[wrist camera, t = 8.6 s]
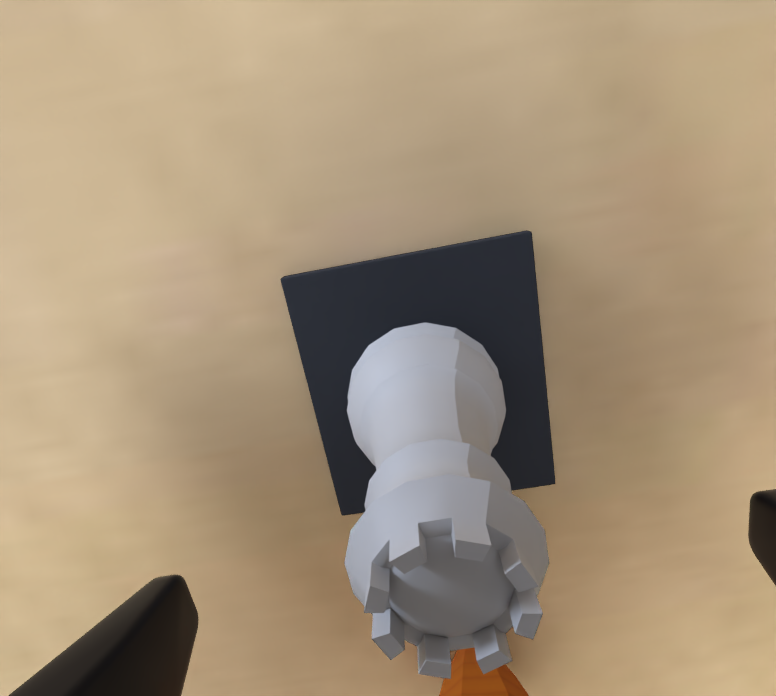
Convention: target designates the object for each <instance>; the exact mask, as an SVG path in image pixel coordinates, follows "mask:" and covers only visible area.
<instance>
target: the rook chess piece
mask: <svg viewBox="0 0 776 696" xmlns="http://www.w3.org/2000/svg"><path fill="white" fill-rule="evenodd" d="M347 398H348V406H347V413H348V417H349V421H350V425H351V429H352V432H353V436H354V439H355V441H356V444H357V445H358V446H359V447H360V449H361V450H362V451H363V452H364V454H365V455H366V456H367V457H368V459H369V460H370V461H371V463H372V464H373V465H374V466H376V472H375V473H374V475H373V476H372V477H371V479H370V480H369V484H368V489H367V494H366V499H365V504H364V506H365V509H366V511H365V512H364V513H363V515H362V516H361V517H360V519H359V520H358V521H357V523H356V524H355V525H354V527H353V528H352V529H351V531H350V536H349V541H348V547H347V552H346V557H345V562H344V563H345V567H346V570H347V573H348V577H349V580H350V584H351V587H352V590H353V594H354V595H355V596H356V597H357V598H358V599H359V601H360V602H361V603H362V604H363V605H364V606H365V607H364V613H371V614H372V615H373V623H372V640H373V641H374V642H375V643H376V644H377V645H378V647H379V648H380V649H381V650H382V651H383V652H384V653H385V654H386V655H387V656H388V658H389V659H390V660H392V659H393V658H394V657H396V656H397V655H398V654H400V653H401V652H402V651H404V650H405V643H404V640H406V641H407V642H409V643H411V644H413V645H415V646H417V652H418V674H421V675H428V676H434V677H441V678H448V679H451V658H450V651H453V650H460V649H467V648H475V654H476V660H477V663H478V665H479V667H480V669H481V671H482V673H483V674H485V673H488V672H490V671H492V670H494V669H496V668H498V667H500V666H502V665H504V664H507V663H509V662H511V661H512V658H511V654H510V649H509V645H508V641H507V637H506V633H507V632H508V631H509V630H510V629H511V627H512V626H513V628H514V632H515V634H518V635H521V636H524V637H527V638H530V639H534V636H535V633H536V631H537V628H538V625H539V622H540V620H541V617H542V614H543V613H542V610H541V607H540V604H539V601H538V598H537V595H538V594H539V591H540V588H541V585H542V582H543V579H544V577H545V574H546V571H547V568H548V565H549V557H548V550H547V542H546V535H545V530H544V528H543V527H542V526H541V524H540V523H539V521H538V520H537V519H536V517H535V516H534V514H533V513H532V511H531V510H530V509H529V507H528V506H527V504H526V503H525V501H523V500H521V499H520V498H518V497H516V496H515V495H513V494H512V492H511V485H510V480H509V479H508V477H507V476H506V474H505V473H504V471H503V470H502V469H501V467H500V466H499V464H498V463H497V461H496V460H495V459H494V458H493V457H491V452H492V449H493V448H494V447H495V445H496V444H497V443H498V439H499V436H500V433H501V429H502V426H503V422H504V419H505V414H506V406H505V399H504V392H503V386H502V381H501V379H500V378H499V373H498V368H497V367H496V365H495V364H494V362H493V361H492V359H491V358H490V356H489V355H488V353H487V352H486V350H485V349H484V347H483V346H482V344H480V343H479V342H477V341H475V340H474V339H472V338H471V337H469V336H468V335H466V334H465V333H463V332H462V331H460V330H458V329H457V328H453V327H448V326H442V325H437V324H431V323H426V322H424V323H420V324H415V325H410V326H405V327H400V328H395V329H393V330H391V331H390V332H388V333H387V334H385V335H384V336H382V337H381V338H379V339H378V340H376V341H375V342H373V343H371V344H370V345H368V347H367V348H366V350H365V351H364V353H363V354H362V356H361V357H360V359H359V360H358V362H357V363H356V365H355V366H354V368H353V369H352V373H351V379H350V385H349V391H348V397H347Z"/></svg>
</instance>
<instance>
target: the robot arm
mask: <svg viewBox="0 0 776 696" xmlns="http://www.w3.org/2000/svg"><path fill="white" fill-rule="evenodd" d="M748 536H749V543H750V546H751V548H752V550H753V553H754V554H755V556H756V557H757V559H758V560H759V562H760V563H761V565H762V566H763V568H764V569H765V571H766V572H767V574H768V575H769V577H770V578H771V579H772V581H773V582H774V584H775V585H776V489H773V490H766V491H759V492H756V493H754V494H753V495H752V497H751V500H750V513H749V533H748ZM197 629H198V613H197V609H196V607H195V604H194V602H193V599H192V597H191V594H190V592H189V589H188V587H187V584H186V582H185V580H184V578H183V577H182V576H180V575H170V576H163V577H158V578H155V579H153V580H152V581H150V582H149V583H148V584H147V585H145V586H144V587H143V588H142V589H140V590H139V591H138V592H137V593H135V594H134V595H133V596H132V597H130V598H129V599H128V600H127V601H125V602H124V603H123V604H122V605H120V606H119V607H118V608H117V609H115V610H114V611H113V612H112V613H111V614H109V615H108V616H107V617H106V618H104V619H103V620H102V621H101V622H99V623H98V624H97V625H96V626H94V627H93V628H92V629H91V630H89V631H88V632H87V633H86V634H84V635H83V636H82V637H81V638H79V639H78V640H77V641H76V642H75V643H73V644H72V645H71V646H70V647H68V648H67V649H66V650H65V651H63V652H62V653H61V654H60V655H58V656H57V657H56V658H55V659H53V660H52V661H51V662H50V663H48V664H47V665H46V666H45V667H43V668H42V669H41V670H40V671H38V672H37V673H36V674H35V675H34V676H32V677H31V678H30V679H29V680H27V681H26V682H25V683H24V684H22V685H21V686H20V687H19V688H17V689H16V690H15V691H14V692H12V693H11V694H10V695H9V696H181V694H182V690H183V686H184V682H185V678H186V674H187V670H188V666H189V662H190V658H191V653H192V649H193V645H194V641H195V637H196V633H197Z"/></svg>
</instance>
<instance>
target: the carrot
mask: <svg viewBox="0 0 776 696" xmlns="http://www.w3.org/2000/svg"><path fill="white" fill-rule="evenodd" d="M439 696H529V695H528V694H527V692H526V691H525V689H524V688H523V686H522V685H521V683H520V682H519V681H518V679H517V678H516V676H515V675H514V674H513V673H512V671H511V670H510V669H509V668H508V667H507V666H506V665H505V664H504V665H502V666H500V667H498V668H496V669H494V670H492V671H490V672H488V673H485V674H483V673H482V671H481V669H480V667H479V665H478V663H477V660H476V654H475V648H467V649H460V650H457V652H456V654H455V656H454V658H453V661H452V663H451V679H448V678H444V681H443V684H442V688H441V691H440V695H439Z"/></svg>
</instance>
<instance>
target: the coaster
mask: <svg viewBox="0 0 776 696" xmlns="http://www.w3.org/2000/svg"><path fill="white" fill-rule="evenodd" d="M281 283H282V287H283V291H284V295H285V299H286V302H287V306H288V310H289V314H290V318H291V322H292V326H293V329H294V333H295V337H296V341H297V345H298V349H299V353H300V356H301V360H302V364H303V368H304V372H305V376H306V379H307V383H308V387H309V391H310V395H311V399H312V403H313V406H314V410H315V414H316V418H317V422H318V426H319V430H320V433H321V437H322V441H323V445H324V449H325V453H326V457H327V460H328V464H329V468H330V472H331V476H332V480H333V484H334V487H335V491H336V495H337V499H338V503H339V507H340V511H341V514H342V515H350V514H357V513H363V512H365V511H366V509H365V506H364V504H365V499H366V494H367V489H368V484H369V480H370V479H371V477H372V476H373V475H374V473H375V472H376V466H374V465H373V464H372V463H371V461H370V460H369V459H368V457H367V456H366V455H365V454H364V452H363V451H362V450H361V449H360V447H359V446H358V445H357V444H356V441H355V439H354V436H353V432H352V429H351V425H350V421H349V417H348V413H347V406H348V398H347V397H348V391H349V385H350V379H351V373H352V369H353V368H354V366H355V365H356V363H357V362H358V360H359V359H360V357H361V356H362V354H363V353H364V351H365V350H366V348H367V347H368V345H370V344H371V343H373V342H375V341H376V340H378V339H379V338H381V337H382V336H384V335H385V334H387V333H388V332H390V331H391V330H393V329H395V328H400V327H405V326H410V325H415V324H420V323H424V322H426V323H431V324H437V325H442V326H448V327H453V328H457V329H458V330H460V331H462V332H463V333H465V334H466V335H468V336H469V337H471V338H472V339H474V340H475V341H477V342H479V343H480V344H482V346H483V347H484V349H485V350H486V352H487V353H488V355H489V356H490V358H491V359H492V361H493V362H494V364H495V365H496V367H497V368H498V373H499V378H500V379H501V381H502V386H503V392H504V399H505V406H506V414H505V419H504V422H503V426H502V429H501V433H500V436H499V439H498V443H497V444H496V445H495V447H494V448H493V449H492V452H491V457H493V458H494V459H495V460H496V461H497V463H498V464H499V466H500V467H501V469H502V470H503V471H504V473H505V474H506V476H507V477H508V479H509V480H510V485H511V490H518V489H524V488H531V487H538V486H545V485H551V484H555V473H554V462H553V452H552V441H551V431H550V420H549V410H548V399H547V388H546V378H545V367H544V357H543V346H542V336H541V325H540V315H539V304H538V294H537V283H536V273H535V262H534V252H533V241H532V233H531V232H530V231H522V232H516V233H511V234H506V235H500V236H495V237H490V238H485V239H479V240H474V241H469V242H463V243H458V244H453V245H447V246H442V247H437V248H432V249H426V250H421V251H416V252H410V253H405V254H400V255H394V256H389V257H384V258H379V259H373V260H368V261H363V262H357V263H352V264H347V265H341V266H336V267H331V268H326V269H320V270H315V271H310V272H304V273H299V274H294V275H288V276H284V277H283V278H281Z"/></svg>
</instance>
